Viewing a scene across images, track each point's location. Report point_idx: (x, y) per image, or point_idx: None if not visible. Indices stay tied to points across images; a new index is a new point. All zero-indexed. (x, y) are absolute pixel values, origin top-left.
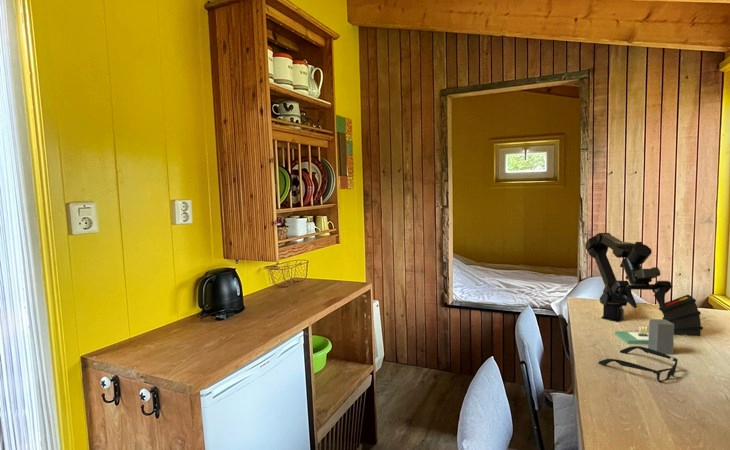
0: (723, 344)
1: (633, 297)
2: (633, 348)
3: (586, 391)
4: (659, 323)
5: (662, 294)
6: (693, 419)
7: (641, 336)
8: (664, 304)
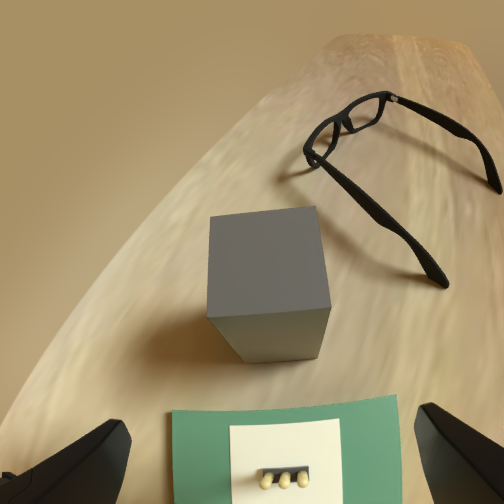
0: (16, 398)
1: (485, 472)
2: (417, 248)
3: (494, 100)
4: (301, 219)
5: (9, 499)
6: (355, 53)
7: (298, 465)
8: (91, 431)
